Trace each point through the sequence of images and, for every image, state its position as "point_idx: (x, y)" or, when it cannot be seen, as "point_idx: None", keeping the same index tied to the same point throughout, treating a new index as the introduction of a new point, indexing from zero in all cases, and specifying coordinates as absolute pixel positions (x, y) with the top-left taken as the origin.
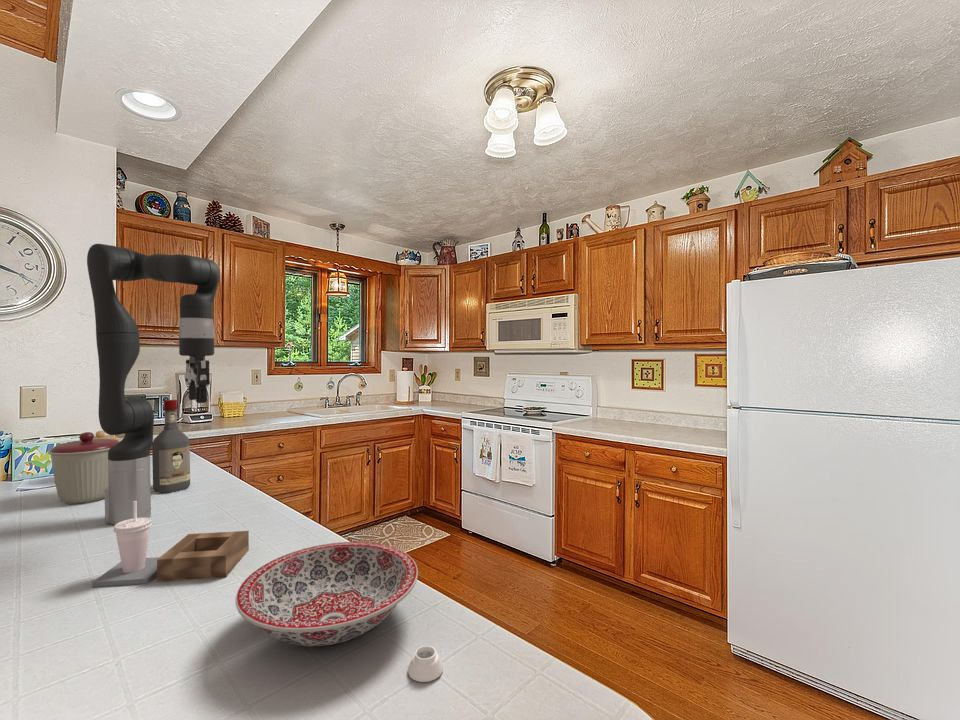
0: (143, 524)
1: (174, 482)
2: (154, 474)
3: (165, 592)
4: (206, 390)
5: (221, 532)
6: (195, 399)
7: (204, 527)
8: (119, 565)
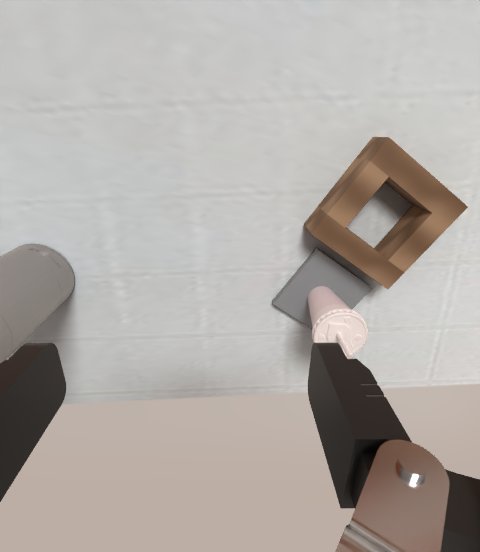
0: (365, 325)
1: None
2: None
3: (416, 272)
4: (374, 412)
5: (352, 184)
6: (57, 360)
7: (184, 173)
8: (293, 310)
